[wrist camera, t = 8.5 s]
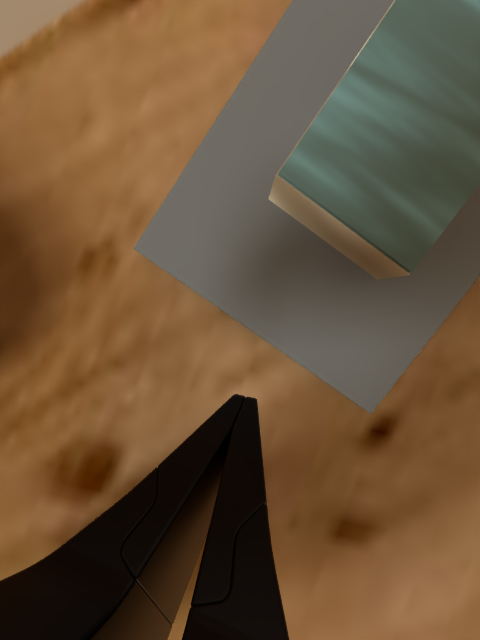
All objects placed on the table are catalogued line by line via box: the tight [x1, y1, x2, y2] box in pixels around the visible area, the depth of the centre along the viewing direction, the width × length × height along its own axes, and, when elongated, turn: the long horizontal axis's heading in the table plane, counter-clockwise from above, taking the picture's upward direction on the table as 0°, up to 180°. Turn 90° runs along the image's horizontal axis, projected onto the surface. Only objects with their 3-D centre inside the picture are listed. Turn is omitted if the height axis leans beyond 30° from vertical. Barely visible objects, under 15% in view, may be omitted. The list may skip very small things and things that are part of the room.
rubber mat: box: [134, 0, 480, 414], centre depth 16 cm, size 24×20×1 cm
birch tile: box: [269, 0, 480, 279], centre depth 13 cm, size 3×9×14 cm
